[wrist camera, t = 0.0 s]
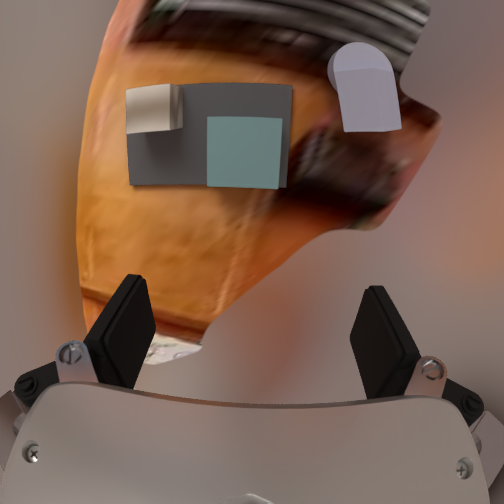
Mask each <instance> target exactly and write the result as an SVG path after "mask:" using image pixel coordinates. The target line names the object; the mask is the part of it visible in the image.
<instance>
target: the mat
mask: <svg viewBox="0 0 504 504" xmlns="http://www.w3.org/2000/svg"><path fill="white" fill-rule="evenodd" d="M176 86H179V87H182V88H183V128H179V129H173V130H165V131H151V132H140V133H130V134H127V152H128V168H129V181H130V185H165V184H206V185H207V117H263V118H280V119H282V137H281V154H280V169H279V184H278V187H284V188H286V181H287V167H288V153H289V138H290V121H291V103H292V85H280V84H264V83H201V84H185V85H176Z"/></svg>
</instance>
